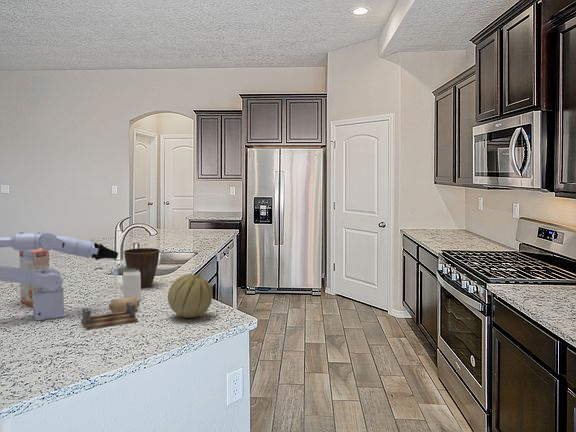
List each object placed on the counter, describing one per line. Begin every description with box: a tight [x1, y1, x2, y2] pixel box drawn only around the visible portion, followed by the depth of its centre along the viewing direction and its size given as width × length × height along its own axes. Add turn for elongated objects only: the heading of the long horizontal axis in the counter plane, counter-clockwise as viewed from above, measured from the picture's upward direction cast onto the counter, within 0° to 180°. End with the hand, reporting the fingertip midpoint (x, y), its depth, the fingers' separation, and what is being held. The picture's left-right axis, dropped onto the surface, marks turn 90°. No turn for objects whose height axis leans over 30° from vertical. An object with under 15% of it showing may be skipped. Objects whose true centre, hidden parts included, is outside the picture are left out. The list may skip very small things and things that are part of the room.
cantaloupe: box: [167, 273, 213, 319], centre depth 164 cm, size 15×15×15 cm
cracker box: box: [18, 248, 50, 308], centre depth 180 cm, size 14×6×21 cm, turn 47°
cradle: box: [80, 302, 139, 330], centre depth 158 cm, size 16×10×5 cm, turn 124°
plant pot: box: [123, 247, 160, 289], centre depth 211 cm, size 15×15×16 cm
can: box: [122, 268, 142, 302], centre depth 186 cm, size 6×6×12 cm
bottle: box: [108, 297, 140, 313], centre depth 170 cm, size 10×5×5 cm, turn 124°
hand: (115, 255), depth 174 cm, fingers open, 7 cm apart
